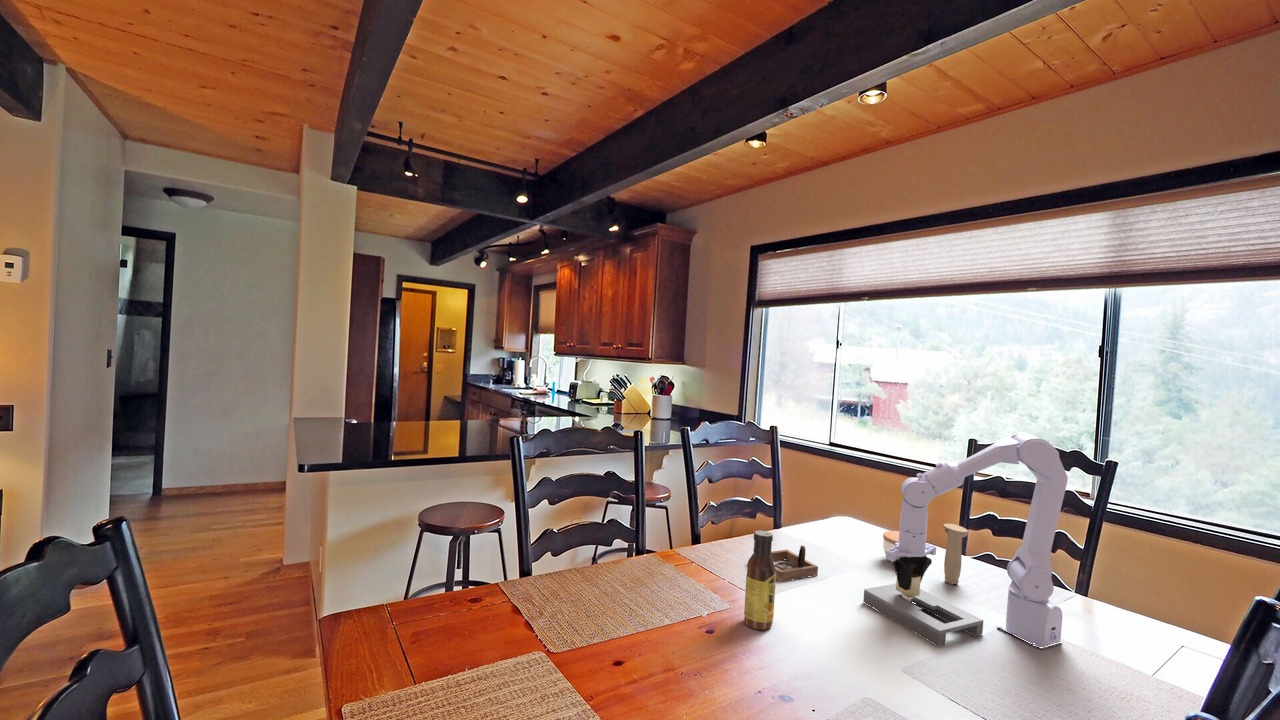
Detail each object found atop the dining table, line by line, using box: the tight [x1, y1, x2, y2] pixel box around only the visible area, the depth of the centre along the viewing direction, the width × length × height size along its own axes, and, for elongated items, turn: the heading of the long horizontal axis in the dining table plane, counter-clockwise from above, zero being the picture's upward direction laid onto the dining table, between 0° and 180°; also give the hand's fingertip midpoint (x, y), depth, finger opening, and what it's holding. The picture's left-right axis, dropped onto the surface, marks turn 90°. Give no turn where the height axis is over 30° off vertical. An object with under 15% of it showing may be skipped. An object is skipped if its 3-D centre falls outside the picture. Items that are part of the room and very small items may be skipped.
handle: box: [942, 523, 969, 585], centre depth 147 cm, size 5×6×15 cm
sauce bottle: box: [743, 529, 777, 631], centre depth 119 cm, size 7×6×20 cm
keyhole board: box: [863, 583, 984, 647], centre depth 126 cm, size 20×14×3 cm
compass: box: [774, 545, 806, 570], centre depth 148 cm, size 8×8×7 cm
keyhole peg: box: [895, 573, 922, 606], centre depth 130 cm, size 5×5×8 cm
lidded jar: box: [882, 530, 899, 563], centre depth 159 cm, size 11×11×9 cm
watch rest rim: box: [751, 549, 819, 583], centre depth 150 cm, size 12×12×2 cm
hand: (908, 587), depth 129 cm, fingers closed on keyhole peg, 3 cm apart
